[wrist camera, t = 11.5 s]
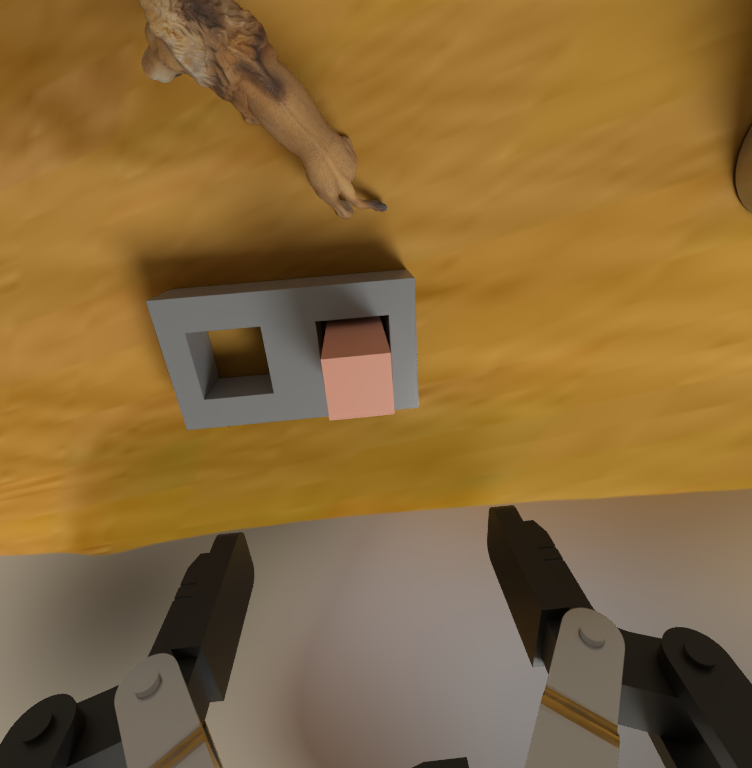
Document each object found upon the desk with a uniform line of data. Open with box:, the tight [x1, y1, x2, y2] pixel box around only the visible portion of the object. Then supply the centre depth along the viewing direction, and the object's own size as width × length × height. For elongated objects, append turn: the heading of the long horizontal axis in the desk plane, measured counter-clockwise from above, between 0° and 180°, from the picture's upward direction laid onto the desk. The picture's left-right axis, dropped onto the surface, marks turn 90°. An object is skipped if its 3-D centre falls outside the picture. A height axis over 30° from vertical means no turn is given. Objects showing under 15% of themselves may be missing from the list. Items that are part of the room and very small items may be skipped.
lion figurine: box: [140, 0, 387, 219], centre depth 22 cm, size 15×5×9 cm, turn 54°
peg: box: [321, 316, 395, 420], centre depth 28 cm, size 4×4×10 cm
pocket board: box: [146, 269, 419, 430], centre depth 30 cm, size 18×10×4 cm, turn 94°
